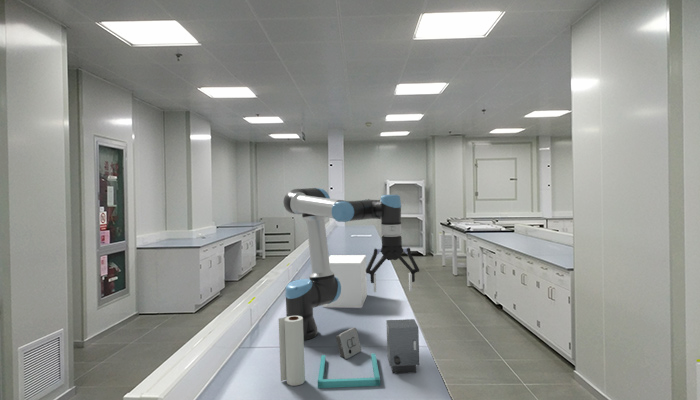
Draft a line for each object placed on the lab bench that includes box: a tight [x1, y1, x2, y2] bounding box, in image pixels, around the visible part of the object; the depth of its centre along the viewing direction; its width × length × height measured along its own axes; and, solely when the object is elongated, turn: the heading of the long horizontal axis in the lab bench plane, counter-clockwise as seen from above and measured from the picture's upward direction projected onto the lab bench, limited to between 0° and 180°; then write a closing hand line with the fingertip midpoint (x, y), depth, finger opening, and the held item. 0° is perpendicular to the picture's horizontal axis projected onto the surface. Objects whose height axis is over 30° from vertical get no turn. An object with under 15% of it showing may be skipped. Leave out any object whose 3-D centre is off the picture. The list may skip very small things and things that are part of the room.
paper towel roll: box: [278, 316, 306, 387], centre depth 129 cm, size 7×6×21 cm
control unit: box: [385, 318, 420, 374], centre depth 135 cm, size 10×10×16 cm
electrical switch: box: [335, 327, 362, 360], centre depth 149 cm, size 9×5×9 cm, turn 141°
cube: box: [322, 254, 368, 309], centre depth 221 cm, size 25×21×24 cm
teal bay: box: [317, 352, 381, 389], centre depth 134 cm, size 20×20×2 cm
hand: (392, 290), depth 148 cm, fingers open, 13 cm apart
